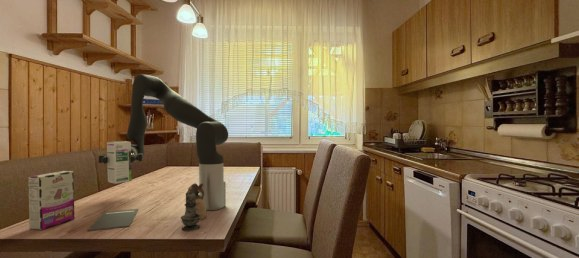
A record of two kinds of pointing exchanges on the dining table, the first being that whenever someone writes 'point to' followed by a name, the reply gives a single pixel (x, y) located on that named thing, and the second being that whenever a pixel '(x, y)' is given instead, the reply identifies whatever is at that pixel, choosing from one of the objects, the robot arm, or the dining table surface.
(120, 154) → the syrup box
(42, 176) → the candy bar box
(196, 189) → the figurine
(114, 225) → the mat
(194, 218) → the dark grey chess piece
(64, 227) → the dining table surface
